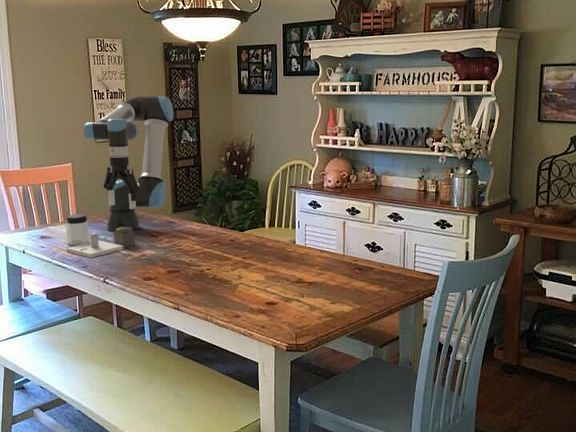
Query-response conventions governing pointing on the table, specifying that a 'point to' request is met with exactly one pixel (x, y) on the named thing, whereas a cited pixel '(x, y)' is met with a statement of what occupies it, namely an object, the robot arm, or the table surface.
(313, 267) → the table surface
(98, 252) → the board
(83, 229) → the jar
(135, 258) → the table surface
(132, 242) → the brown box
